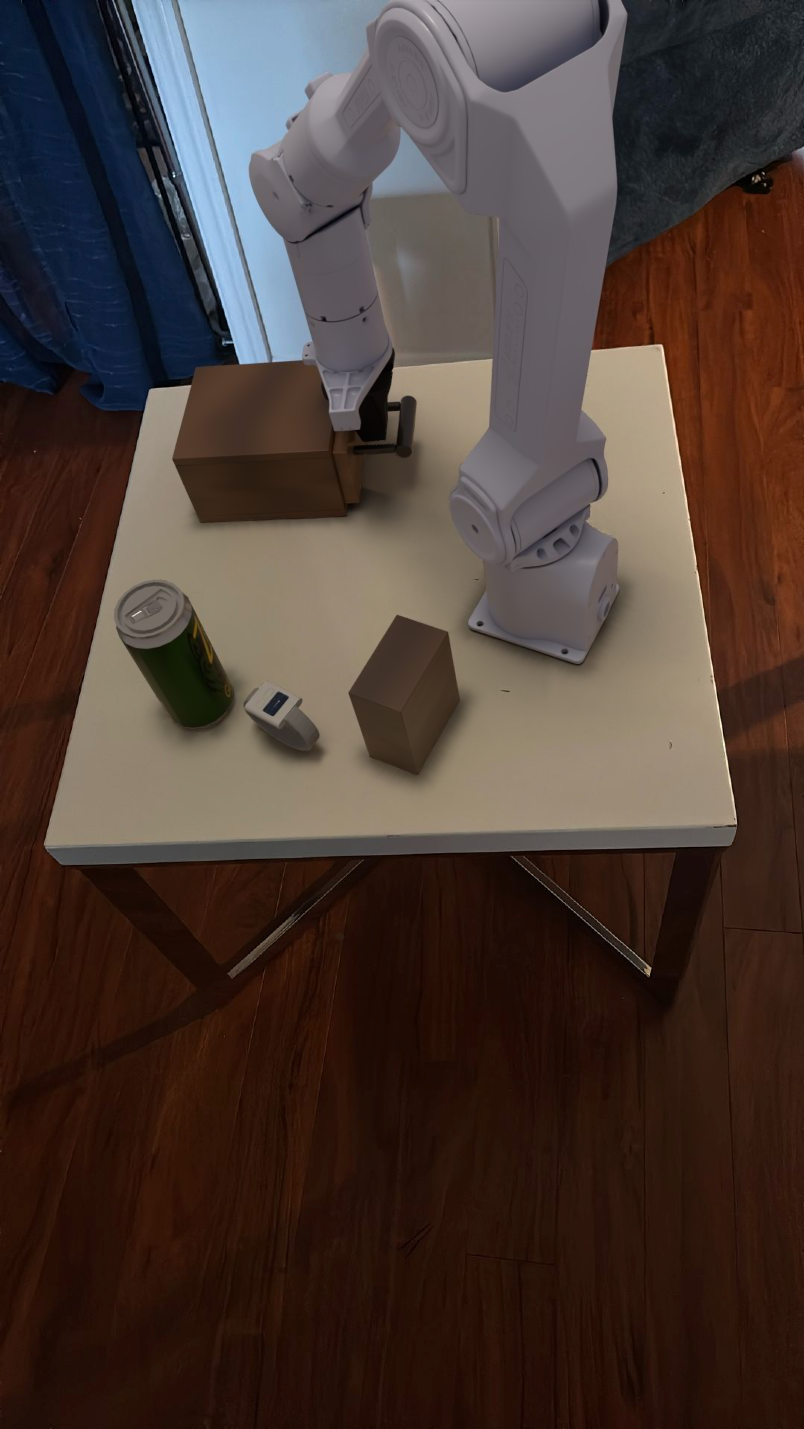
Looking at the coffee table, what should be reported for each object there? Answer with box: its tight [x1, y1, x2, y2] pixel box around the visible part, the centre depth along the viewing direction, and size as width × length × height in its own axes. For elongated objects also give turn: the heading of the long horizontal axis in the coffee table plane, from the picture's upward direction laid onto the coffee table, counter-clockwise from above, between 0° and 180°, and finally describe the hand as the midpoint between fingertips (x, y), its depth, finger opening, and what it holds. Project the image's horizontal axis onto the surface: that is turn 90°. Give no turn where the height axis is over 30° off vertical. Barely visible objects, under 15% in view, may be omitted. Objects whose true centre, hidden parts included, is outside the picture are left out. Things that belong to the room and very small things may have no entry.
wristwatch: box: [242, 680, 321, 752], centre depth 76 cm, size 6×3×5 cm, turn 55°
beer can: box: [113, 579, 234, 730], centre depth 75 cm, size 5×5×12 cm
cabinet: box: [171, 359, 349, 523], centre depth 90 cm, size 13×11×8 cm
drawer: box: [332, 395, 418, 504], centre depth 89 cm, size 17×10×6 cm, turn 86°
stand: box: [348, 614, 461, 775], centre depth 73 cm, size 4×7×8 cm, turn 152°
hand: (374, 436), depth 88 cm, fingers closed, pressing on drawer
